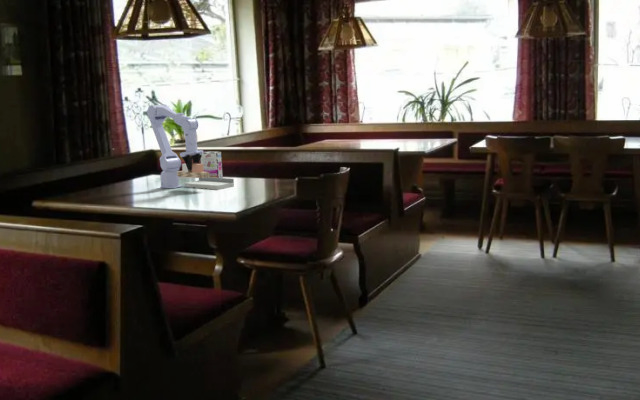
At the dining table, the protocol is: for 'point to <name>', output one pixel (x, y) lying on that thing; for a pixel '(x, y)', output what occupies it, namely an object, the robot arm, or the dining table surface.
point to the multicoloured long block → (193, 174)
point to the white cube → (184, 168)
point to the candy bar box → (212, 163)
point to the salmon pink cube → (197, 168)
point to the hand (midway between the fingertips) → (192, 169)
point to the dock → (211, 183)
